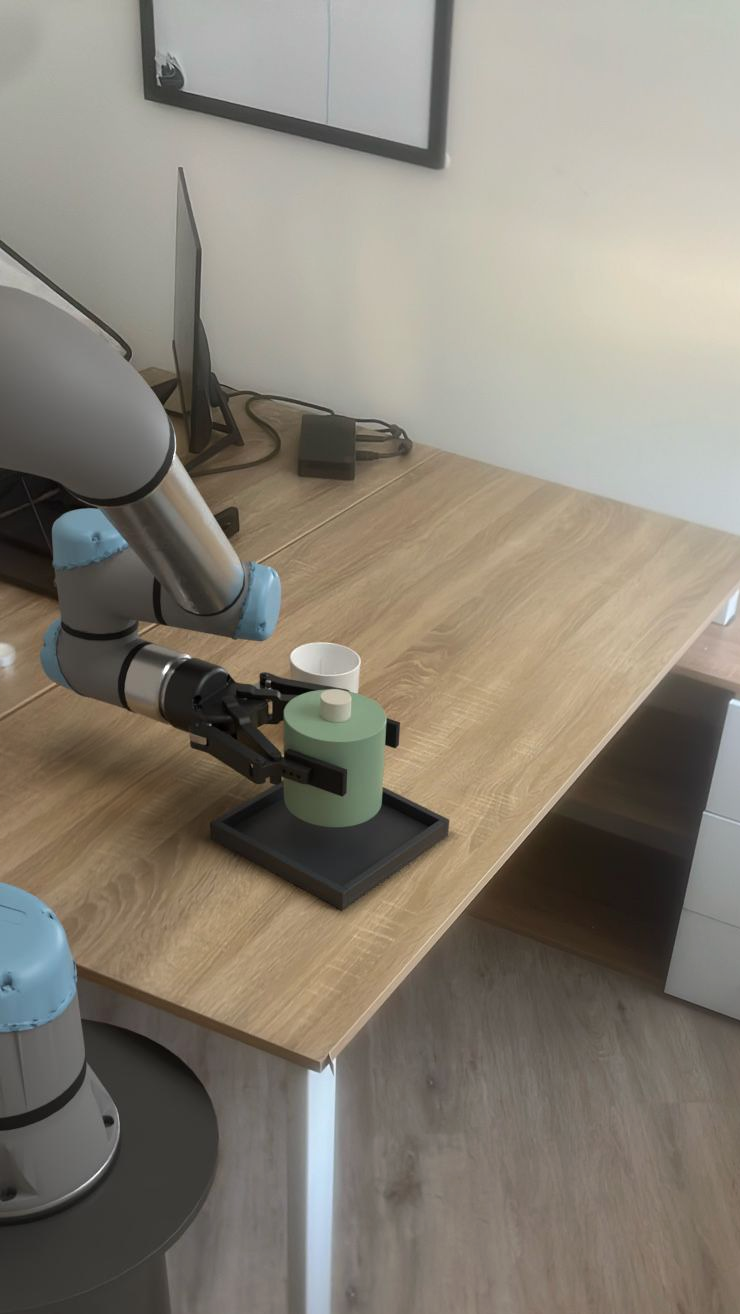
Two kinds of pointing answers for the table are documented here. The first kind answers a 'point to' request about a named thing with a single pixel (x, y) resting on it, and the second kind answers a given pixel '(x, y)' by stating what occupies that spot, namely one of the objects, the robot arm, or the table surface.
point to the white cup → (326, 665)
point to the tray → (330, 843)
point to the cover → (337, 755)
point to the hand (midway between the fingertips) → (372, 758)
